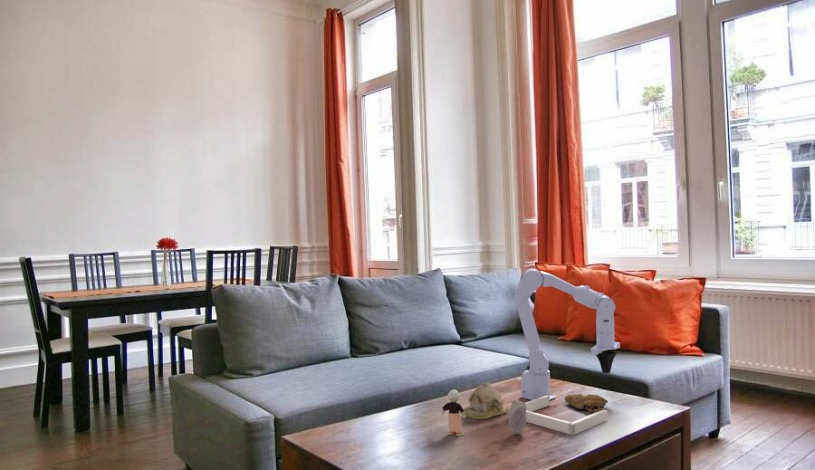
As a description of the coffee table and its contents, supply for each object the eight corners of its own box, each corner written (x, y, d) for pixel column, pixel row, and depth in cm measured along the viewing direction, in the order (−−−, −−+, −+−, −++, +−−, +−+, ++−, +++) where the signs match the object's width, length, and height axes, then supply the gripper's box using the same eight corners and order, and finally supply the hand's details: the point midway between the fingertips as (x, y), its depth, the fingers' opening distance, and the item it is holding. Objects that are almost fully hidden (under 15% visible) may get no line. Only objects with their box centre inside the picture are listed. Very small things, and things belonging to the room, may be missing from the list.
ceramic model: (481, 405, 199) (481, 375, 199) (511, 410, 192) (510, 379, 192) (457, 416, 188) (456, 384, 188) (488, 422, 181) (487, 389, 181)
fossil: (512, 438, 167) (511, 403, 167) (504, 434, 170) (503, 399, 170) (528, 434, 170) (527, 399, 169) (521, 431, 173) (520, 396, 172)
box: (510, 417, 185) (510, 407, 185) (546, 404, 197) (546, 395, 197) (572, 435, 168) (572, 424, 168) (607, 420, 180) (607, 410, 180)
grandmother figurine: (468, 432, 172) (467, 389, 172) (465, 437, 169) (464, 392, 169) (443, 430, 175) (441, 387, 175) (439, 435, 171) (438, 390, 171)
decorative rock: (619, 413, 188) (587, 402, 202) (619, 400, 188) (587, 390, 202) (589, 416, 184) (559, 405, 198) (589, 403, 184) (559, 392, 198)
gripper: (604, 336, 192) (605, 378, 192) (627, 330, 202) (628, 370, 202) (585, 334, 197) (585, 375, 198) (608, 328, 207) (609, 367, 207)
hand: (606, 372), depth 200 cm, fingers closed
